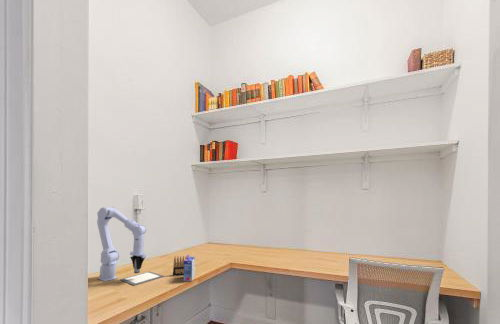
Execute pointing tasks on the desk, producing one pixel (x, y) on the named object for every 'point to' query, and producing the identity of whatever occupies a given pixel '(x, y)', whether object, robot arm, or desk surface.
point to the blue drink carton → (189, 268)
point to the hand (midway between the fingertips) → (137, 268)
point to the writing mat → (141, 278)
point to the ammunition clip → (178, 266)
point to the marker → (136, 268)
